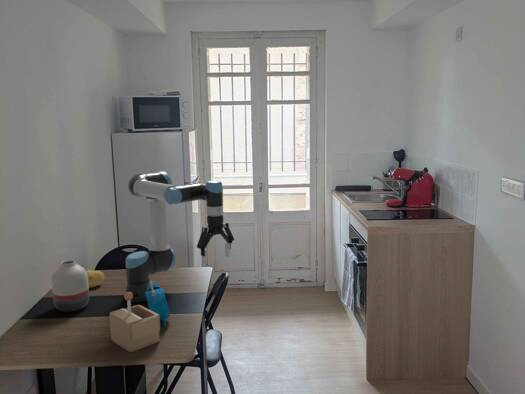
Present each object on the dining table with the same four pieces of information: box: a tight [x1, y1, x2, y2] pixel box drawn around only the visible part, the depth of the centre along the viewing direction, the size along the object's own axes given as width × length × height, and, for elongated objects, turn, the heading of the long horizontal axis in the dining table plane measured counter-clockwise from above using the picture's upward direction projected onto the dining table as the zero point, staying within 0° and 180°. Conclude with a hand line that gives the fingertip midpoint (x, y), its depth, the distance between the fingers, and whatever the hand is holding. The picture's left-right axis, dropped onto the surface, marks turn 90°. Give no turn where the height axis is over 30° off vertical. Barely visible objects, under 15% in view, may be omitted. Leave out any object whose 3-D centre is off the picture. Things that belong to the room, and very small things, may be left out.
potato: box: [86, 269, 105, 289], centre depth 284 cm, size 10×14×10 cm
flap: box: [109, 292, 142, 325], centre depth 213 cm, size 16×7×10 cm, turn 44°
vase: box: [51, 259, 90, 313], centre depth 254 cm, size 17×17×24 cm
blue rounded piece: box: [146, 280, 171, 327], centre depth 236 cm, size 17×10×20 cm, turn 15°
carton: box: [108, 304, 161, 353], centre depth 218 cm, size 17×15×12 cm
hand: (216, 259), depth 238 cm, fingers open, 13 cm apart
